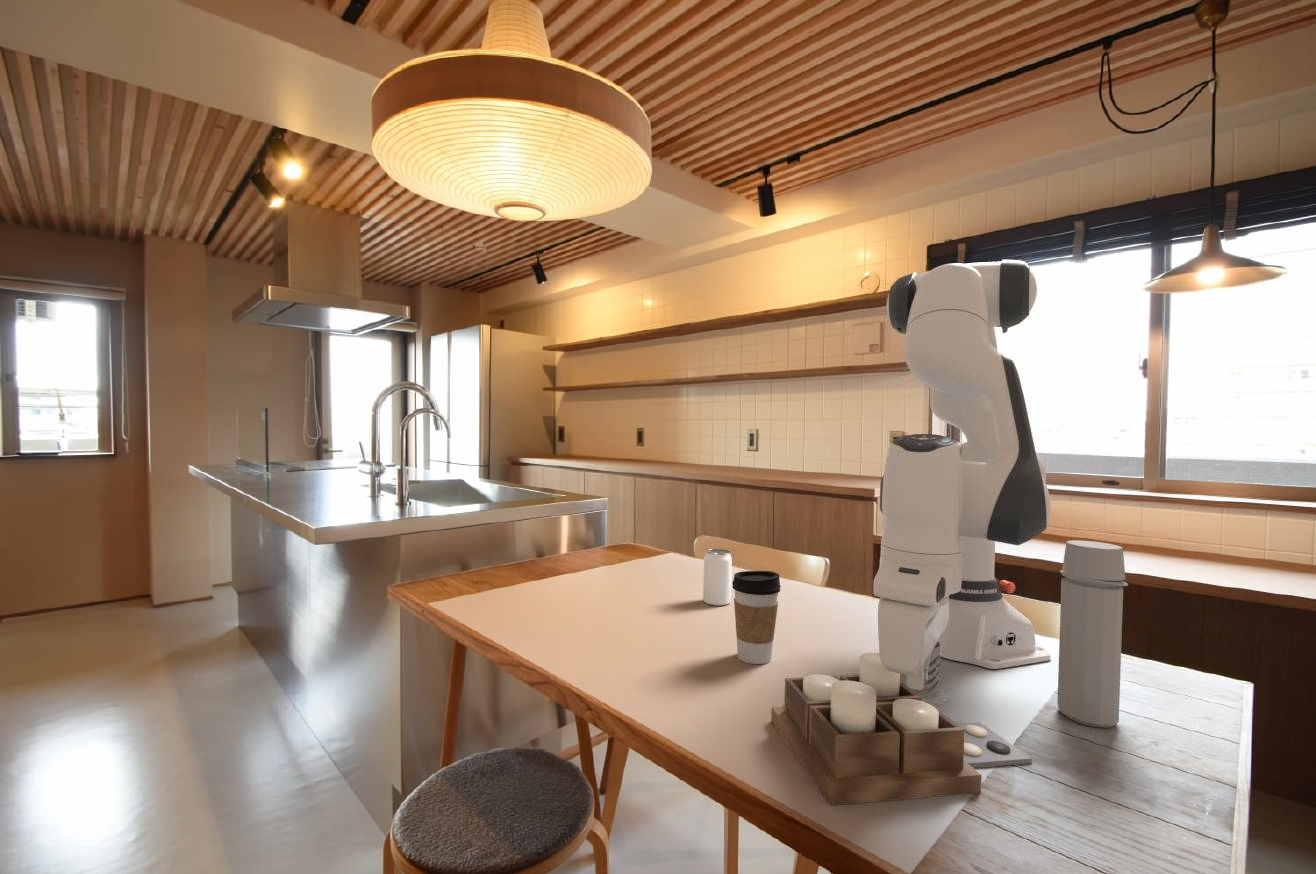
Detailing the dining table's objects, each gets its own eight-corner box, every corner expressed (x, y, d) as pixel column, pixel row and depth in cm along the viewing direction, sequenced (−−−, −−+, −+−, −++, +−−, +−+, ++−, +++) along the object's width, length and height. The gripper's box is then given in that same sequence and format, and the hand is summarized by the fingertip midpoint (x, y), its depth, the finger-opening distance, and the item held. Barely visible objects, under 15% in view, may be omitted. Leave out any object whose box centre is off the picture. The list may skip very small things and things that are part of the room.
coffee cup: (778, 669, 97) (781, 581, 97) (728, 664, 99) (730, 577, 99) (778, 651, 105) (780, 569, 105) (732, 646, 107) (734, 566, 107)
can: (698, 599, 137) (700, 549, 137) (723, 597, 139) (725, 548, 139) (709, 607, 131) (710, 554, 131) (735, 605, 133) (736, 553, 133)
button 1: (831, 710, 78) (832, 673, 78) (848, 729, 73) (850, 690, 73) (796, 712, 78) (797, 675, 78) (811, 731, 73) (812, 691, 73)
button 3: (885, 688, 80) (886, 652, 80) (907, 705, 75) (908, 666, 75) (852, 689, 79) (853, 653, 79) (871, 707, 74) (872, 668, 74)
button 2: (861, 720, 70) (862, 679, 70) (883, 742, 66) (885, 698, 65) (822, 722, 70) (824, 681, 70) (842, 745, 65) (843, 700, 65)
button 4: (920, 737, 72) (921, 697, 72) (946, 760, 67) (948, 717, 67) (883, 740, 71) (884, 699, 71) (907, 763, 66) (908, 720, 66)
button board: (891, 714, 83) (892, 669, 82) (981, 792, 65) (982, 735, 65) (771, 721, 80) (772, 674, 80) (830, 805, 62) (832, 745, 62)
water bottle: (1095, 734, 78) (1101, 551, 78) (1042, 707, 86) (1047, 540, 85) (1144, 726, 81) (1150, 548, 80) (1088, 701, 88) (1093, 538, 88)
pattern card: (979, 726, 80) (979, 719, 80) (1031, 763, 71) (1031, 756, 71) (920, 729, 78) (920, 723, 78) (965, 768, 69) (965, 760, 69)
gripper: (911, 551, 79) (909, 651, 79) (868, 584, 62) (865, 710, 63) (963, 558, 75) (960, 662, 76) (931, 595, 59) (928, 729, 59)
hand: (917, 685), depth 69 cm, fingers closed
